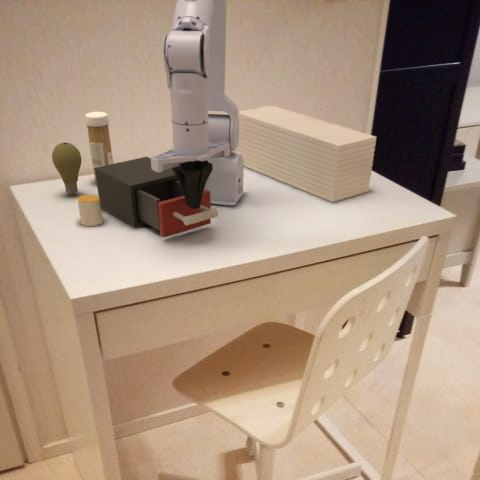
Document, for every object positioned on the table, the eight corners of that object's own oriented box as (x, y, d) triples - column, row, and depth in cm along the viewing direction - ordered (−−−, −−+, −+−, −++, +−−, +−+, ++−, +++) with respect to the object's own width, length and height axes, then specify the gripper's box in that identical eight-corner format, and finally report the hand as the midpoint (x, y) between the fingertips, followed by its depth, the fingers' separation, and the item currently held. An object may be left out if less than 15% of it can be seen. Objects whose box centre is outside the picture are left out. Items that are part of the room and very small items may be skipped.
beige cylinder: (106, 219, 114) (103, 195, 112) (97, 227, 111) (93, 203, 109) (87, 217, 115) (83, 193, 112) (77, 224, 112) (73, 200, 109)
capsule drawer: (227, 231, 108) (226, 198, 105) (179, 246, 103) (177, 212, 99) (174, 205, 118) (173, 174, 114) (128, 217, 113) (125, 186, 109)
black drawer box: (185, 213, 117) (184, 172, 112) (134, 228, 111) (130, 185, 106) (150, 195, 124) (146, 156, 120) (100, 208, 119) (94, 167, 114)
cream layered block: (235, 162, 142) (235, 111, 135) (270, 154, 147) (272, 105, 140) (332, 202, 122) (338, 145, 116) (368, 191, 128) (376, 136, 121)
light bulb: (92, 192, 125) (84, 141, 119) (75, 201, 121) (67, 148, 115) (70, 188, 127) (61, 137, 121) (53, 197, 123) (43, 144, 117)
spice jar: (120, 182, 130) (112, 113, 122) (102, 187, 128) (93, 117, 119) (107, 177, 133) (99, 109, 124) (90, 182, 130) (80, 113, 122)
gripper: (166, 134, 90) (172, 223, 98) (241, 118, 97) (240, 203, 106) (140, 123, 94) (148, 211, 102) (214, 109, 101) (215, 192, 110)
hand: (193, 206), depth 104 cm, fingers closed
